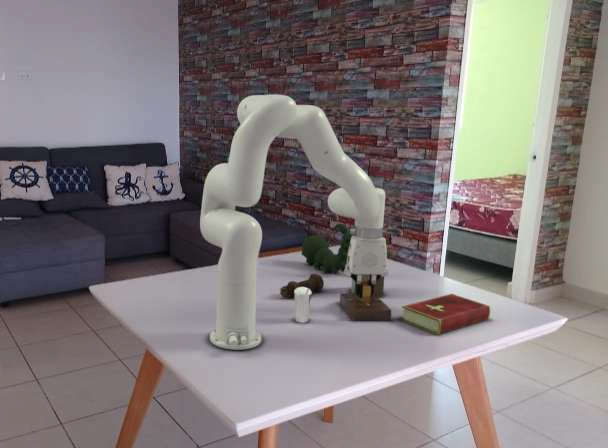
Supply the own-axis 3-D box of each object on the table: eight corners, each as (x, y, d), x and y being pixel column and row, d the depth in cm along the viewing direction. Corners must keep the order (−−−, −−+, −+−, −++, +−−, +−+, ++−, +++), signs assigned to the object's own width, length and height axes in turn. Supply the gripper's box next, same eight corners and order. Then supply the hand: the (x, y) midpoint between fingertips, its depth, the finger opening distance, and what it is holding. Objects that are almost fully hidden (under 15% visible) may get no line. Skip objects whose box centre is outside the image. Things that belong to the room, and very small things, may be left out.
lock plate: (390, 320, 151) (391, 309, 151) (353, 320, 151) (354, 309, 150) (373, 302, 165) (374, 292, 164) (339, 302, 165) (340, 292, 164)
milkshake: (298, 325, 147) (300, 289, 145) (290, 318, 152) (291, 282, 150) (314, 323, 148) (316, 287, 146) (305, 316, 153) (307, 281, 151)
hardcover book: (489, 320, 152) (491, 305, 151) (439, 335, 142) (440, 319, 141) (450, 306, 162) (451, 292, 161) (400, 319, 152) (402, 305, 151)
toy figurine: (356, 280, 192) (309, 257, 213) (363, 227, 187) (314, 208, 207) (335, 284, 187) (289, 260, 208) (342, 229, 182) (294, 210, 203)
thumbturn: (370, 302, 156) (371, 286, 155) (362, 302, 156) (364, 286, 155) (364, 296, 161) (365, 281, 160) (357, 296, 161) (358, 281, 160)
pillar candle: (390, 295, 171) (393, 248, 168) (363, 299, 168) (366, 250, 165) (369, 286, 180) (373, 240, 177) (344, 289, 177) (347, 243, 173)
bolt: (280, 303, 168) (315, 292, 177) (291, 299, 164) (326, 288, 173) (274, 285, 170) (309, 275, 178) (284, 280, 166) (319, 271, 174)
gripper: (343, 235, 150) (339, 301, 154) (402, 235, 151) (396, 300, 155) (335, 229, 158) (332, 292, 161) (391, 229, 158) (387, 292, 162)
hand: (363, 296), depth 158 cm, fingers closed on thumbturn, 2 cm apart
